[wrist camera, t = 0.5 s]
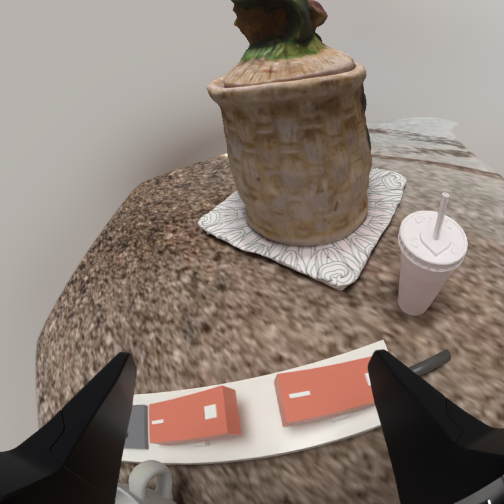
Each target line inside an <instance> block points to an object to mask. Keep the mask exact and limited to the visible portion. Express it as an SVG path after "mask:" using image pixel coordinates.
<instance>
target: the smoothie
mask: <svg viewBox="0 0 504 504" xmlns="http://www.w3.org/2000/svg"><path fill="white" fill-rule="evenodd" d="M448 198H449V194H448V193H445V192H443V193H442V197H441V202H440V207H439V212H434V211H418V212H414V213H412V214H410V215H408V216H407V217H406V218H405V219H404V220H403V221H402V223H401V226H400V231H399V234H398V243H399V246H400V248H401V263H400V279H399V292H398V305H399V307H400V309H401V310H402V311H403V312H404V313H406V314H408V315H411V316H418V315H421V314H423V313H424V312H425V311H426V310H427V309H428V307H429V306H430V305H431V303H432V302H433V300H434V299H435V298H436V296H437V295H438V293H439V292H440V290H441V289H442V287H443V286H444V284H445V283H446V281H447V280H448V278H449V276H450V275H451V274H452V272H453V270H454V269H455V268H457V267H458V266H459V265H460V264H461V263H462V262H463V259H464V257H465V253H466V250H467V244H468V243H467V238H466V235H465V233H464V231H463V229H462V228H461V227H460V226H459V225H458V224H457V223H456V222H455V221H454V220H453V219H451V218H450V217H448V216H446V215H445V212H446V207H447V203H448Z"/></svg>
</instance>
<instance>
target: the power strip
mask: <svg viewBox="0 0 504 504" xmlns="http://www.w3.org/2000/svg"><path fill="white" fill-rule="evenodd" d="M381 349H385V350H386V351H388V350H387V348H386V345H385V343H384V341H383V340H381V341H378V342H376V343H373V344H370V345H367V346H365V347H362V348H359V349H356V350H353V351H350V352H347V353H344V354H341V355H338V356H335V357H332V358H328V359H325V360H322V361H318V362H315V363H312V364H308V365H304V366H301V367H297V368H293V369H289V370H286V371H282V372H277V373H273V374H269V375H265V376H260V377H256V378H251V379H246V380H241V381H236V382H231V383H225V384H220V385H214V386H208V387H201V388H194V389H187V390H179V391H171V392H161V393H151V394H138V395H134V397H133V406H132V412H131V416H130V421H129V425H128V430H127V435H126V440H125V445H124V450H123V455H122V461H121V462H126V463H137V464H140V463H142V462H144V461H146V460H156V461H158V462H161V463H162V464H164V465H203V464H219V463H231V462H240V461H248V460H256V459H262V458H269V457H274V456H280V455H285V454H290V453H295V452H299V451H304V450H308V449H312V448H316V447H320V446H324V445H327V444H331V443H334V442H338V441H341V440H344V439H347V438H351V437H354V436H357V435H360V434H362V433H365V432H368V431H371V430H373V429H376V428H379V427H381V423H380V420H379V416H378V413H377V410H376V407H375V405H373V406H370V407H367V408H363V409H360V410H357V411H353V412H350V413H346V414H342V415H339V416H335V417H331V418H327V419H322V420H318V421H314V422H309V423H304V424H299V425H294V426H288V427H283V426H282V421H281V416H280V411H279V406H278V401H277V396H276V391H275V386H274V380H275V377H276V375H277V374H280V373H287V372H294V371H300V370H307V369H313V368H318V367H324V366H329V365H334V364H339V363H344V362H348V361H353V360H357V359H362V358H366V357H370V356H372V355H373V352H374V351H375V350H381ZM450 359H451V356H450V353H449V351H448V350H444V351H442V352H440V353H438V354H436V355H434V356H432V357H430V358H428V359H426V360H424V361H422V362H420V363H417V364H415V365H413V366H411V367H409V369H411V370H412V371H413V372H415V373H416V374H417V375H418V376H421V375H423V374H425V373H427V372H429V371H431V370H433V369H435V368H437V367H439V366H441V365H443V364H445V363H447V362H448V361H450ZM222 385H223V386H226V387H229V388H231V389H234V390H235V391H236V398H237V405H238V413H239V420H240V427H241V434H242V435H238V436H233V437H227V438H221V439H215V440H208V441H201V442H193V443H185V444H174V445H159V444H153V443H150V437H149V404H153V403H158V402H162V401H166V400H171V399H175V398H179V397H183V396H186V395H190V394H194V393H198V392H201V391H205V390H208V389H212V388H215V387H218V386H222Z"/></svg>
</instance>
